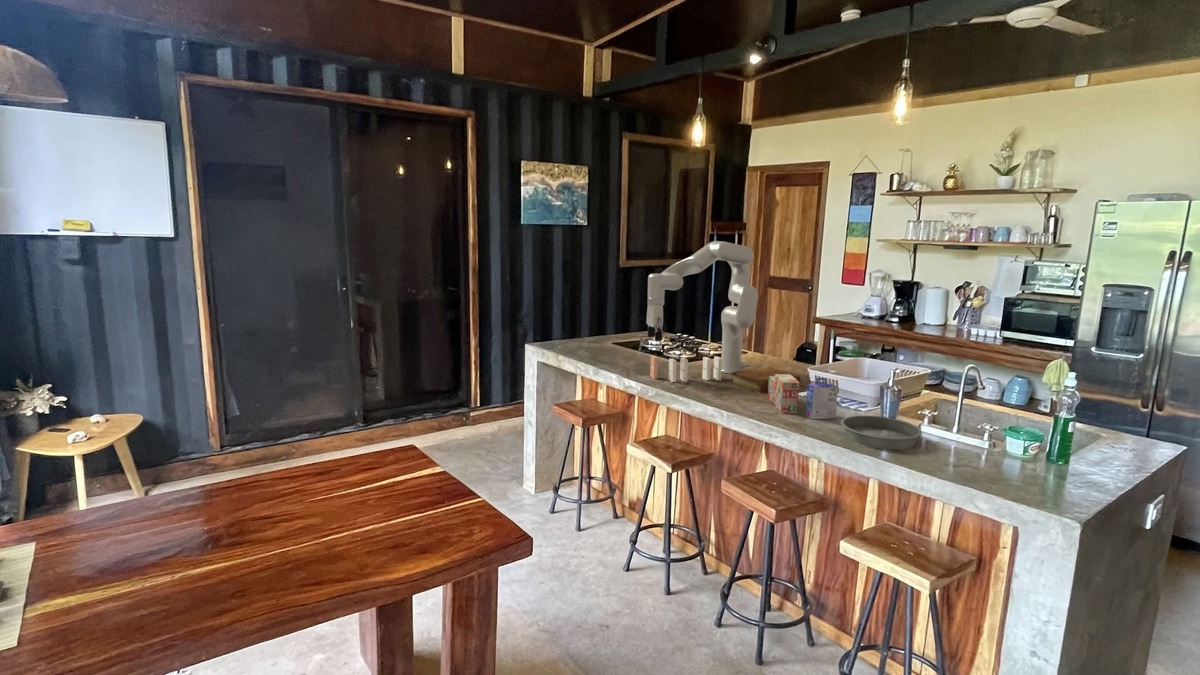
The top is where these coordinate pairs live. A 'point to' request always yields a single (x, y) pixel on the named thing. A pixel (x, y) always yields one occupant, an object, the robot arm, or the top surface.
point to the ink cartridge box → (821, 400)
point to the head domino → (672, 370)
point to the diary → (758, 378)
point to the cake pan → (897, 441)
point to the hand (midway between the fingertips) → (654, 338)
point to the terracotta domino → (654, 367)
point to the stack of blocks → (784, 392)
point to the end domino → (717, 367)
